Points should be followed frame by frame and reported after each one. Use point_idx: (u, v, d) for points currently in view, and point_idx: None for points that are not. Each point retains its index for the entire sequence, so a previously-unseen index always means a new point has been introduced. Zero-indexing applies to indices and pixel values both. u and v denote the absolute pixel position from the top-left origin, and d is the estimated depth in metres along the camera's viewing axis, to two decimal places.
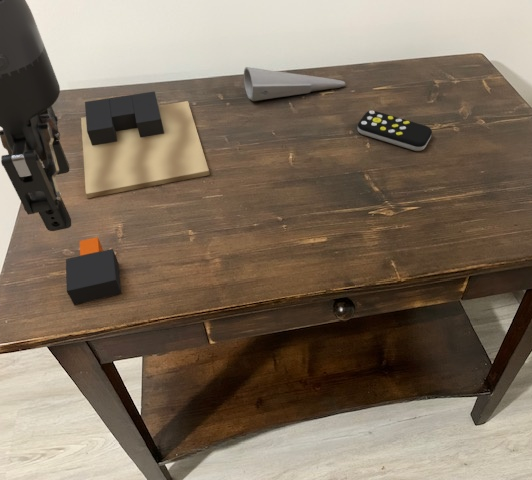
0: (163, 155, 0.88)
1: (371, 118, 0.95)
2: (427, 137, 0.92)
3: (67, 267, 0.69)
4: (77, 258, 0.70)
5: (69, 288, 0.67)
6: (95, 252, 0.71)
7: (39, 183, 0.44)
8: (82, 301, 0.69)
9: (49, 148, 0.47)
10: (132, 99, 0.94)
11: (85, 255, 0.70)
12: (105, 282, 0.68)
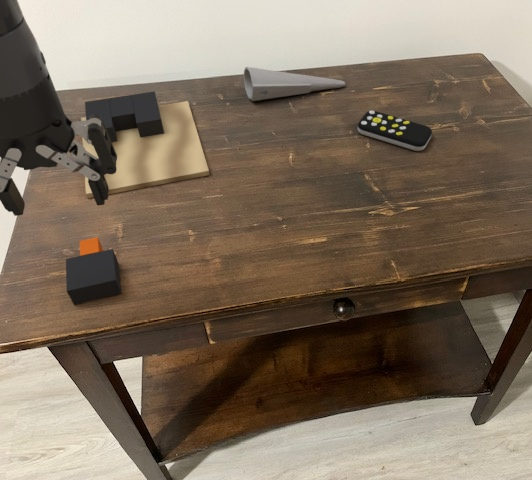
0: (163, 155, 0.88)
1: (371, 118, 0.95)
2: (427, 137, 0.92)
3: (67, 267, 0.69)
4: (77, 258, 0.70)
5: (69, 288, 0.67)
6: (95, 252, 0.71)
7: (108, 137, 0.55)
8: (82, 301, 0.69)
9: None
10: (132, 99, 0.94)
11: (85, 255, 0.70)
12: (105, 282, 0.68)
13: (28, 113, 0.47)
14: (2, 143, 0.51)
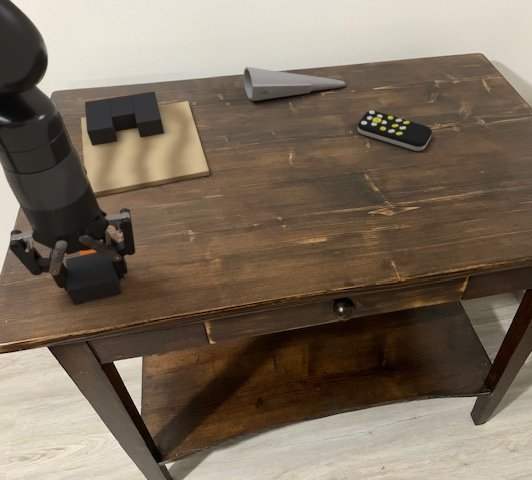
0: (163, 155, 0.88)
1: (371, 118, 0.95)
2: (427, 137, 0.92)
3: (67, 267, 0.69)
4: (77, 258, 0.70)
5: (69, 288, 0.67)
6: (95, 252, 0.71)
7: None
8: (82, 301, 0.69)
9: None
10: (132, 99, 0.94)
11: (85, 255, 0.70)
12: (105, 282, 0.68)
13: (77, 215, 0.58)
14: (50, 237, 0.62)
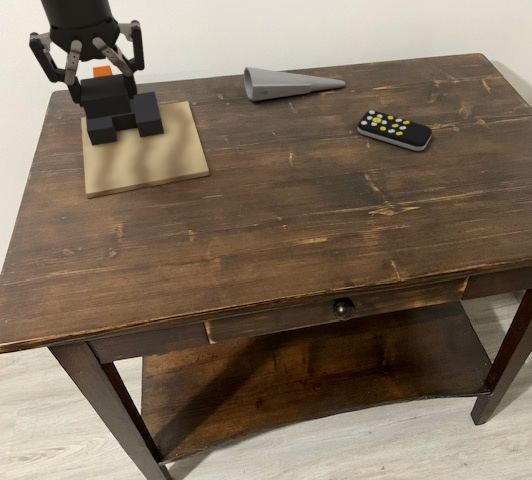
0: (163, 155, 0.88)
1: (371, 118, 0.95)
2: (427, 137, 0.92)
3: (81, 85, 0.74)
4: (91, 79, 0.75)
5: (83, 99, 0.72)
6: (108, 75, 0.76)
7: None
8: (95, 116, 0.74)
9: None
10: None
11: (98, 77, 0.75)
12: (116, 95, 0.72)
13: (91, 7, 0.63)
14: (66, 37, 0.67)
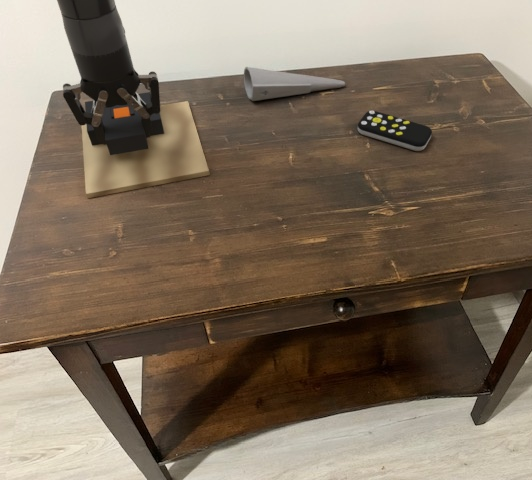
0: (163, 155, 0.88)
1: (371, 118, 0.95)
2: (427, 137, 0.92)
3: (104, 125, 0.85)
4: (112, 120, 0.86)
5: (107, 138, 0.83)
6: (127, 116, 0.87)
7: None
8: (117, 152, 0.85)
9: None
10: None
11: (119, 118, 0.87)
12: (136, 135, 0.84)
13: (118, 64, 0.74)
14: (95, 88, 0.78)
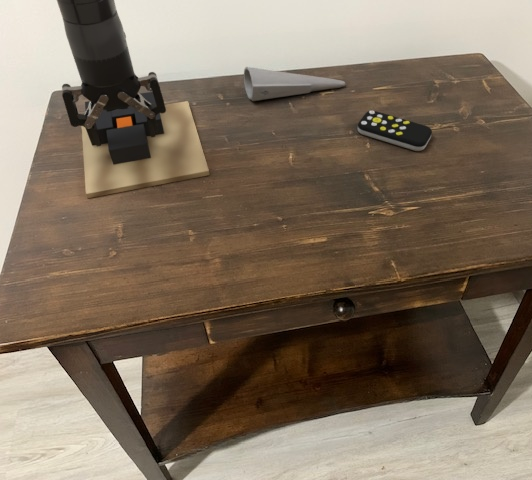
0: (163, 155, 0.88)
1: (371, 118, 0.95)
2: (427, 137, 0.92)
3: (108, 135, 0.87)
4: (115, 129, 0.88)
5: (110, 148, 0.84)
6: (130, 126, 0.88)
7: None
8: (120, 161, 0.86)
9: None
10: None
11: (121, 127, 0.88)
12: (138, 144, 0.85)
13: (118, 69, 0.75)
14: (95, 92, 0.78)
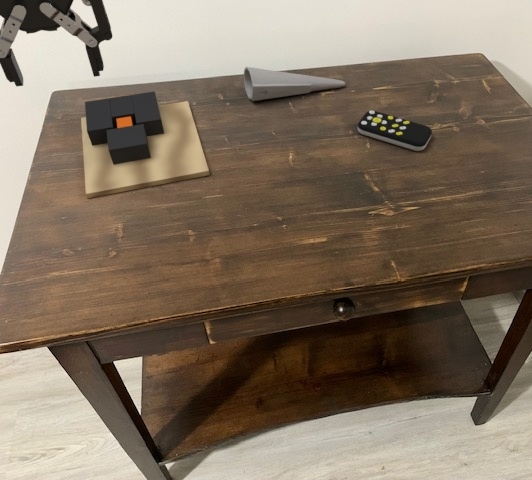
0: (163, 155, 0.88)
1: (371, 118, 0.95)
2: (427, 137, 0.92)
3: (108, 135, 0.87)
4: (115, 129, 0.88)
5: (110, 148, 0.84)
6: (130, 126, 0.88)
7: (103, 4, 0.60)
8: (120, 161, 0.86)
9: None
10: (132, 99, 0.94)
11: (121, 127, 0.88)
12: (138, 144, 0.85)
13: None
14: (7, 2, 0.55)
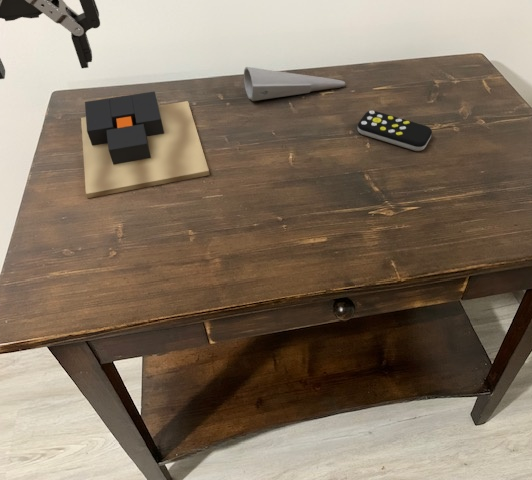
0: (163, 155, 0.88)
1: (371, 118, 0.95)
2: (427, 137, 0.92)
3: (108, 135, 0.87)
4: (115, 129, 0.88)
5: (110, 148, 0.84)
6: (130, 126, 0.88)
7: None
8: (120, 161, 0.86)
9: None
10: (132, 99, 0.94)
11: (121, 127, 0.88)
12: (138, 144, 0.85)
13: None
14: None
